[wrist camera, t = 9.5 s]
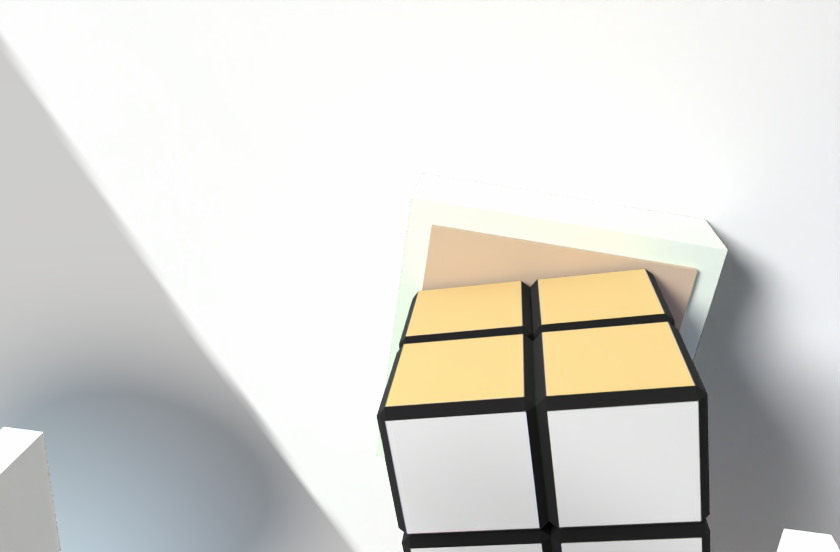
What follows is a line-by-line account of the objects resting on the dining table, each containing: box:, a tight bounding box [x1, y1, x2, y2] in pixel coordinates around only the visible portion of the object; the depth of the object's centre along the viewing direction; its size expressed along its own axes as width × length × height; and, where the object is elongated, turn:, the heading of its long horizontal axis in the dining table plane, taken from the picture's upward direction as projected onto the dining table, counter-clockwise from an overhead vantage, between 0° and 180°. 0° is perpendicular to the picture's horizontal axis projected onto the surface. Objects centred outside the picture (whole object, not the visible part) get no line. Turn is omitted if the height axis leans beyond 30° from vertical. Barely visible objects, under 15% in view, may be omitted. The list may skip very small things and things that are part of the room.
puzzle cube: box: [377, 269, 710, 552], centre depth 29 cm, size 10×10×10 cm
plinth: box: [377, 174, 728, 457], centre depth 35 cm, size 13×13×4 cm
